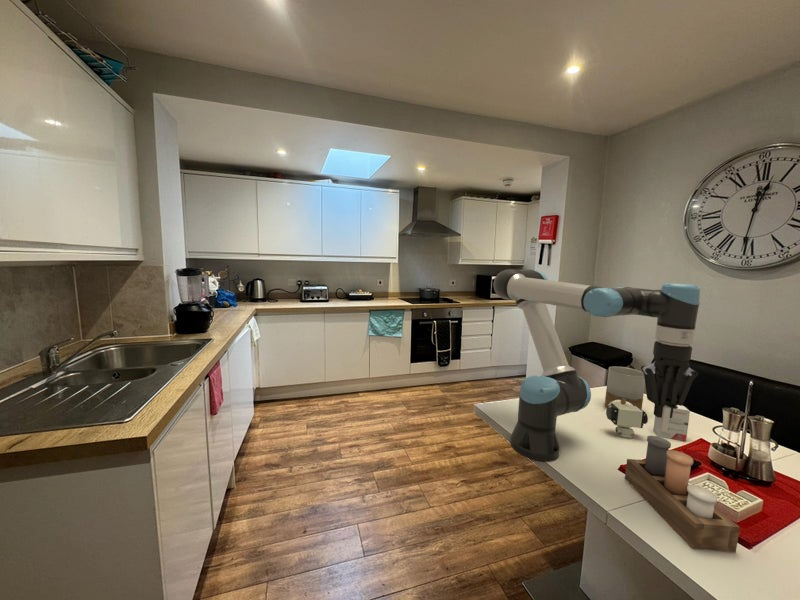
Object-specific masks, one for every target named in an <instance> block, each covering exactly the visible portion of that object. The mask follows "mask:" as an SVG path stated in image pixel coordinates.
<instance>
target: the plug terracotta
mask: <svg viewBox="0 0 800 600" xmlns="http://www.w3.org/2000/svg"><path fill="white" fill-rule="evenodd" d="M666 456H667V457H668V458H667V465H666V472H665V480H664V488H666V489H667V490H668V491H669V492H670V493H671V494H672V495H681V496H687V486H688V485H689V481H690V475H691V470H692V469H691V467H692V466H693V465H694V458H692V457H691V456H690V455H688V454H686V453H684V452H682V451H678V450H673V449H669V450H668V451H667V453H666Z"/></svg>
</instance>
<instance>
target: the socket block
mask: <svg viewBox="0 0 800 600" xmlns="http://www.w3.org/2000/svg"><path fill="white" fill-rule="evenodd" d="M645 461H646V459H633V458H626V463H625V465H626V466H625V472H624V473H625V474H624V479H625V481H627V482H628V484H629V485H631V486H632V488H634V490H635V491H636V492H637V493H638V494H639V495H641V497H642V498H643V499H644V500H645V501H646V502H647V503H648V504H649V505H650V506H651V507H652V509H653V510H655V512H656V513H657V514H659V516H660V517H661V518H662V519H663V520H664V521H665V522H666V523H667V524H668V525H669V526H670V527H671V529H673V530H674V531H675V533H677V535H679V537H680V538H682V540H683V541H684V542H685V543H686V544H687V545H688V546H689V548H691V549H695V550H705V551H715V552H716V551H717V552H725V553H726V552H727V553H736V552H737V547H738V541H739V536H740V535H739V534H740V530H741V526H739V525H738V524H737V523H736V522H735V521H734V520H732V519H731V518H730V517H728V516H727V515H726V514H724V513H723V512H722V511H721V510H720V509H719V508H717V507H716V506H715V505H714V511H713V518H712V519H709V518H697V517H696V516H695V515H694V514H693V513H692V512H691V511H690V510H688V509H687V508H686V505H687V498H688V492H687V496H681V495H672V494H671V493H670V492H669V491H668V490H667V489H666V488H664V480H665V477H660V476H651V475H650V474H649V473H648V472H647V471H646V470H645Z"/></svg>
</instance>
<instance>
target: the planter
mask: <svg viewBox="0 0 800 600" xmlns="http://www.w3.org/2000/svg"><path fill="white" fill-rule="evenodd" d="M645 388H646V386H645V378H644V373H643V372H642V370H638V369H635V368H631V367H625V366H609V367H608V373H607V381H606V391H605V397H604V399H605V400H604V408H606V409H607V408H608V407H609V406H610V405H611V403H612V402H614V401H620V402H619V404H622V405H624V404H627V403H630V404H631V406H638V407H639V408H640V409H642V410H643V402H644V392H645Z"/></svg>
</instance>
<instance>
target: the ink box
mask: <svg viewBox="0 0 800 600" xmlns="http://www.w3.org/2000/svg"><path fill="white" fill-rule="evenodd" d="M677 407H678V408H677V409H673V414H672V418H669V425H668V431H661V430H660V429H658V428H657V427H655V426H654V425H655V419H654V421H653V422H654V424H653V432H654V434H655V436H657V437H661V438H664V439H670V440H674V441H675V440H676V441H680V442H684V443H685V442H687V436H688V435H687V434H688V429H689V423H690V422H689V421H690V412H691V411H690V410H689V409H688V407H686V406H684V405H682V406H680V405H677ZM655 417H656V416H655V415H654V418H655Z"/></svg>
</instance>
